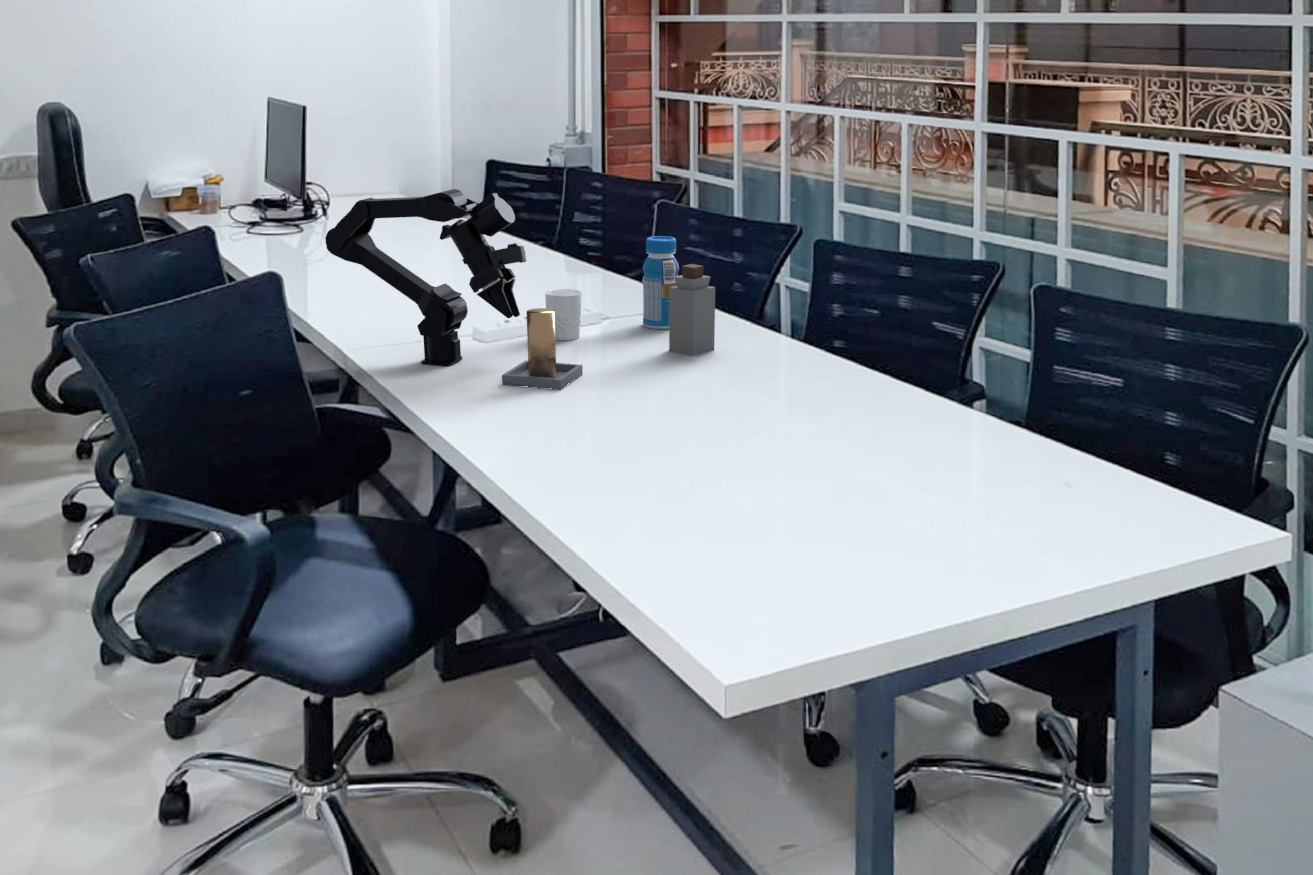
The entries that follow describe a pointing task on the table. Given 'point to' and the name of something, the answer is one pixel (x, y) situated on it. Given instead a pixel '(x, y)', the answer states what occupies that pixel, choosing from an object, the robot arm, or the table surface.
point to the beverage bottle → (658, 280)
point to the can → (541, 342)
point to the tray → (522, 378)
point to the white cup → (565, 312)
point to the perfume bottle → (692, 312)
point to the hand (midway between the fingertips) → (514, 316)
